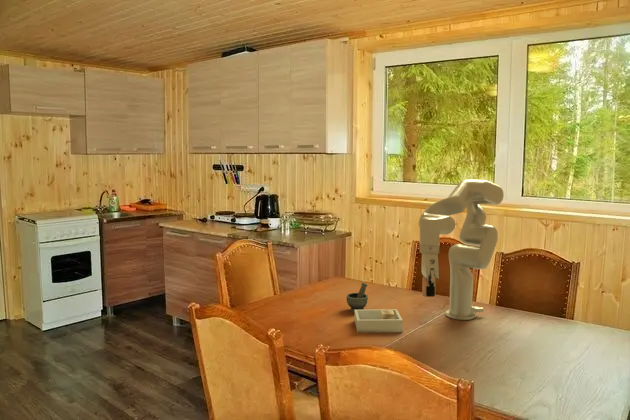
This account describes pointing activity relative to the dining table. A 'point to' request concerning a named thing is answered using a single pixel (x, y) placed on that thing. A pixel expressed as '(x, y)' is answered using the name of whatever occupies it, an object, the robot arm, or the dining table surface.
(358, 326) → the tote
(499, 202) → the robot arm
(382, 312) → the cube
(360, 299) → the mortar and pestle
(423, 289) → the cylinder
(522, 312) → the dining table surface
